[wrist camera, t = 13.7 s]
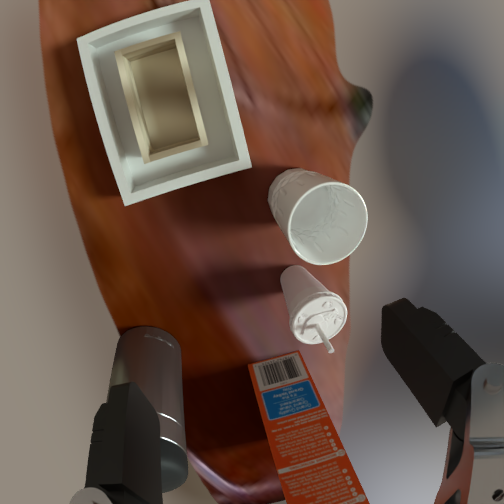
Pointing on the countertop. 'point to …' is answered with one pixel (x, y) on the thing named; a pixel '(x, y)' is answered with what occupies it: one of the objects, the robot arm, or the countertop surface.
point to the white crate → (206, 88)
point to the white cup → (318, 215)
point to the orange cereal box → (302, 435)
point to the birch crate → (161, 97)
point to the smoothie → (311, 307)
